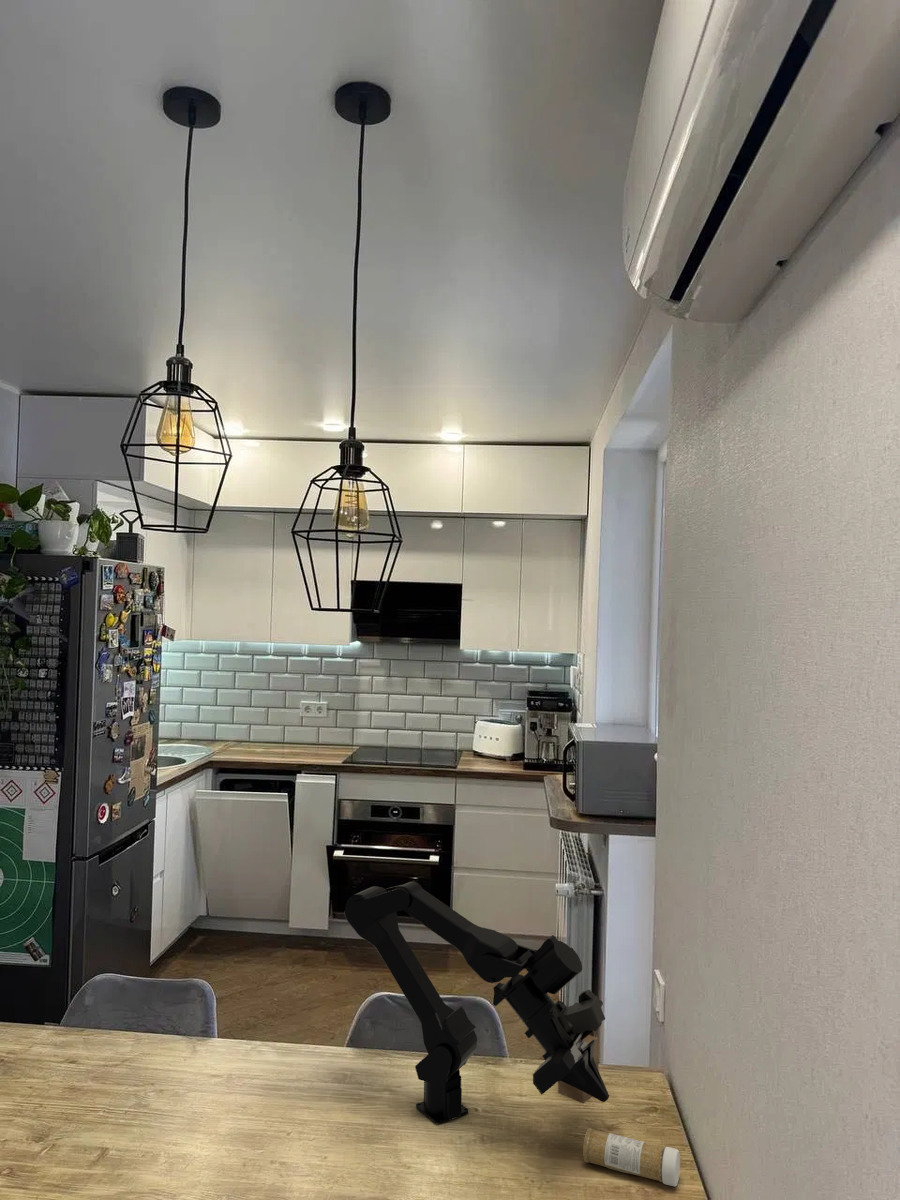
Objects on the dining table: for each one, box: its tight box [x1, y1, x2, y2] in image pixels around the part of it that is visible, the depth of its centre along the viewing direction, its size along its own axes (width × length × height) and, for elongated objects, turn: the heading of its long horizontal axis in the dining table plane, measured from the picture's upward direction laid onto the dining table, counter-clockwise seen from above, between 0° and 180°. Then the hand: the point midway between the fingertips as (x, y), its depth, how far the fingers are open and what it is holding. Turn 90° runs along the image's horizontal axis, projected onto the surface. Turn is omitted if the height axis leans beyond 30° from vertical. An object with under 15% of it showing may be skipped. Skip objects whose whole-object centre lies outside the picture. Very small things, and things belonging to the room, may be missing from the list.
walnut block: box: [557, 1034, 600, 1104], centre depth 146 cm, size 5×5×9 cm
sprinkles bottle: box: [582, 1127, 681, 1188], centre depth 123 cm, size 5×5×13 cm
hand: (606, 1099), depth 127 cm, fingers closed
